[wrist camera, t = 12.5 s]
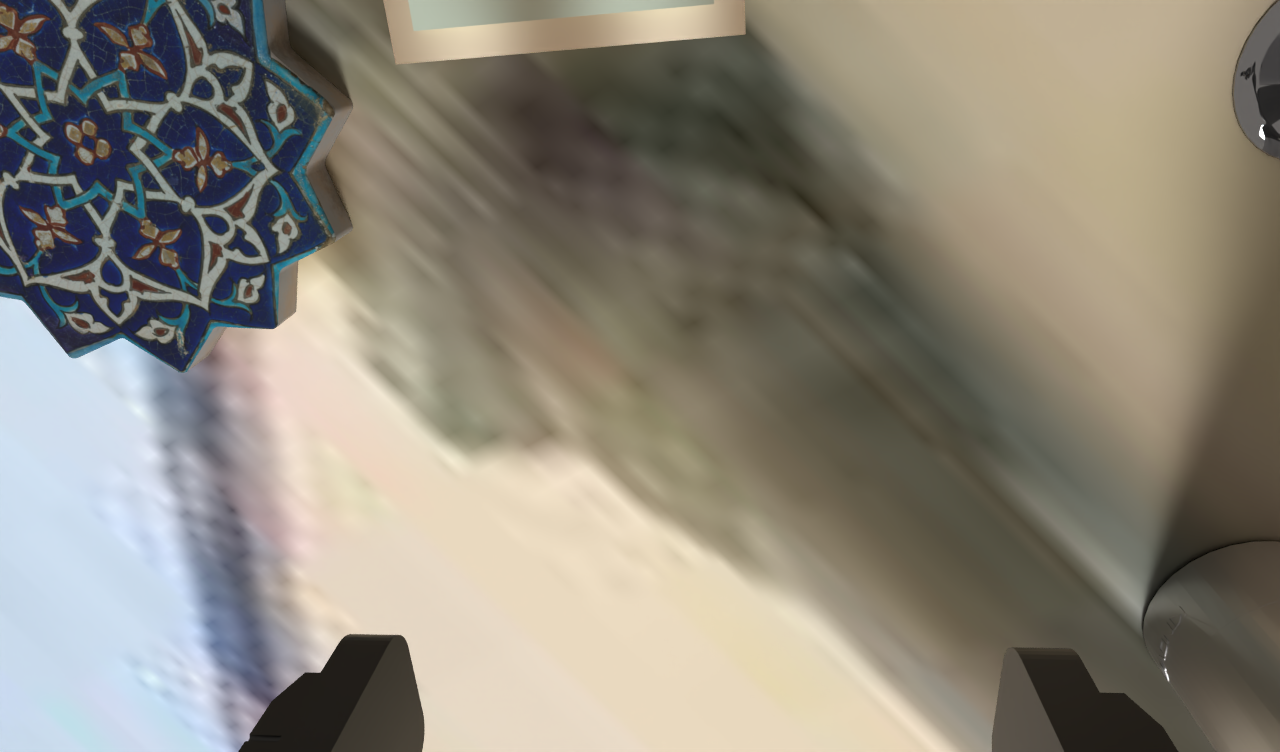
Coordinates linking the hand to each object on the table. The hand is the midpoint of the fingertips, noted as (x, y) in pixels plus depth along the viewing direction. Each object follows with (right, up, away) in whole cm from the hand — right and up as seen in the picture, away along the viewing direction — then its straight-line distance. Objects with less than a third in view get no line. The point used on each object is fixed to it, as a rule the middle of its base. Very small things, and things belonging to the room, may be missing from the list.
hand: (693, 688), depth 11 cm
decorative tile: (-23, +15, +24) cm, 36 cm away
